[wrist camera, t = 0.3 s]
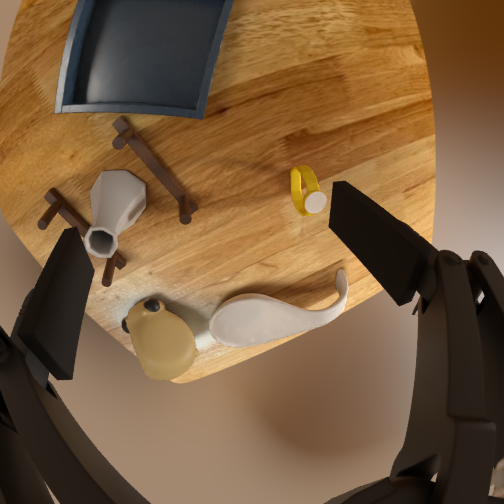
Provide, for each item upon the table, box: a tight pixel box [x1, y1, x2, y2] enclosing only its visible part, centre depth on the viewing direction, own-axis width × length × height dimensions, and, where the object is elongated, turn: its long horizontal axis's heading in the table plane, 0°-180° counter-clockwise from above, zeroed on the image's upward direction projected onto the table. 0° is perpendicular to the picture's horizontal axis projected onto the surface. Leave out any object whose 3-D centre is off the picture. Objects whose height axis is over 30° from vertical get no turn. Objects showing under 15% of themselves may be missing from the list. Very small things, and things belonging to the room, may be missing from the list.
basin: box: [55, 0, 234, 119], centre depth 18 cm, size 15×15×5 cm
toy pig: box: [122, 298, 199, 381], centre depth 37 cm, size 10×12×11 cm
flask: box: [84, 170, 146, 258], centre depth 25 cm, size 7×7×10 cm
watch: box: [290, 165, 327, 216], centre depth 32 cm, size 6×3×6 cm, turn 6°
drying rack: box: [38, 116, 198, 287], centre depth 26 cm, size 14×13×6 cm
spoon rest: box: [209, 269, 348, 347], centre depth 42 cm, size 24×12×7 cm, turn 100°
